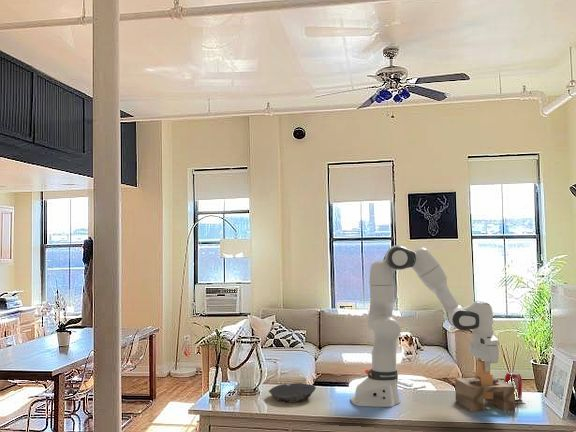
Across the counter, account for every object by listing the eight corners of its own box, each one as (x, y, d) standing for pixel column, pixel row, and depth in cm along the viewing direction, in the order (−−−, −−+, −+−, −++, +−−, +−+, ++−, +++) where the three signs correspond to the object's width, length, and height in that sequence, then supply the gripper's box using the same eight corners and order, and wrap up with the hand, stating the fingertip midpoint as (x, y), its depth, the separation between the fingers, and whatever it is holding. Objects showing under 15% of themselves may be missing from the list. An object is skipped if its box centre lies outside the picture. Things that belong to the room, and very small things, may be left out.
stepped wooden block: (482, 399, 236) (481, 363, 237) (475, 395, 243) (474, 360, 244) (493, 398, 237) (492, 362, 238) (486, 394, 243) (485, 359, 244)
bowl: (313, 406, 238) (312, 394, 238) (264, 406, 242) (264, 394, 242) (319, 393, 259) (318, 382, 260) (274, 393, 263) (274, 382, 264)
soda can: (507, 400, 246) (506, 374, 247) (504, 396, 253) (503, 370, 254) (523, 401, 245) (523, 374, 245) (520, 397, 252) (519, 371, 252)
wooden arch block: (473, 411, 230) (472, 384, 231) (455, 400, 247) (455, 374, 247) (514, 410, 232) (514, 382, 233) (494, 398, 249) (494, 373, 250)
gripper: (465, 334, 251) (466, 364, 250) (487, 342, 231) (488, 374, 230) (478, 333, 252) (479, 364, 251) (501, 341, 232) (501, 374, 231)
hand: (483, 369), depth 241 cm, fingers closed on stepped wooden block, 4 cm apart
